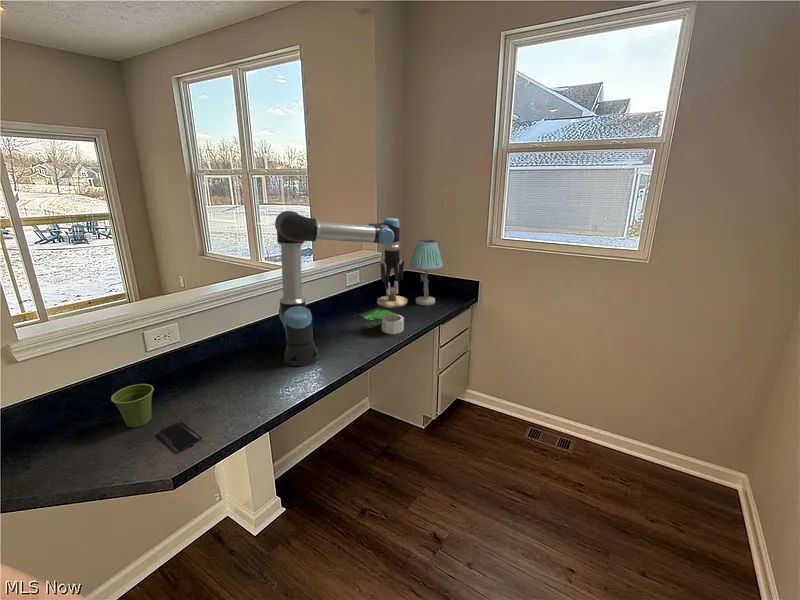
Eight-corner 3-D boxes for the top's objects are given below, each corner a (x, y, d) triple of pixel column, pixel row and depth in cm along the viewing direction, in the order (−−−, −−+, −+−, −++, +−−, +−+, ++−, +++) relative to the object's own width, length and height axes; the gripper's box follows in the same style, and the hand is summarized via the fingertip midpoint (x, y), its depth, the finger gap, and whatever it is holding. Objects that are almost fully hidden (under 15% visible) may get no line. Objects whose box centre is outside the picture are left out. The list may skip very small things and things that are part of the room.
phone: (180, 421, 131) (203, 438, 123) (181, 423, 131) (203, 441, 123) (155, 433, 125) (177, 452, 117) (156, 435, 125) (178, 455, 117)
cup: (388, 335, 201) (388, 323, 198) (379, 328, 210) (378, 316, 208) (406, 331, 206) (406, 319, 203) (397, 324, 215) (397, 313, 213)
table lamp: (406, 297, 261) (407, 238, 248) (438, 296, 263) (440, 238, 250) (411, 308, 240) (412, 244, 227) (445, 307, 242) (448, 244, 230)
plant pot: (133, 436, 125) (126, 406, 121) (110, 427, 129) (102, 397, 125) (167, 416, 135) (161, 388, 131) (145, 408, 139) (138, 380, 136)
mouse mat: (369, 330, 208) (369, 328, 208) (344, 319, 223) (344, 318, 223) (404, 317, 227) (404, 315, 226) (379, 308, 241) (379, 306, 241)
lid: (385, 309, 193) (385, 293, 190) (372, 300, 206) (371, 285, 203) (412, 304, 200) (413, 289, 197) (398, 295, 213) (398, 281, 211)
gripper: (380, 252, 187) (380, 298, 194) (410, 249, 195) (409, 293, 202) (373, 249, 193) (374, 294, 201) (403, 246, 201) (402, 289, 208)
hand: (392, 293), depth 201 cm, fingers closed on lid, 4 cm apart
